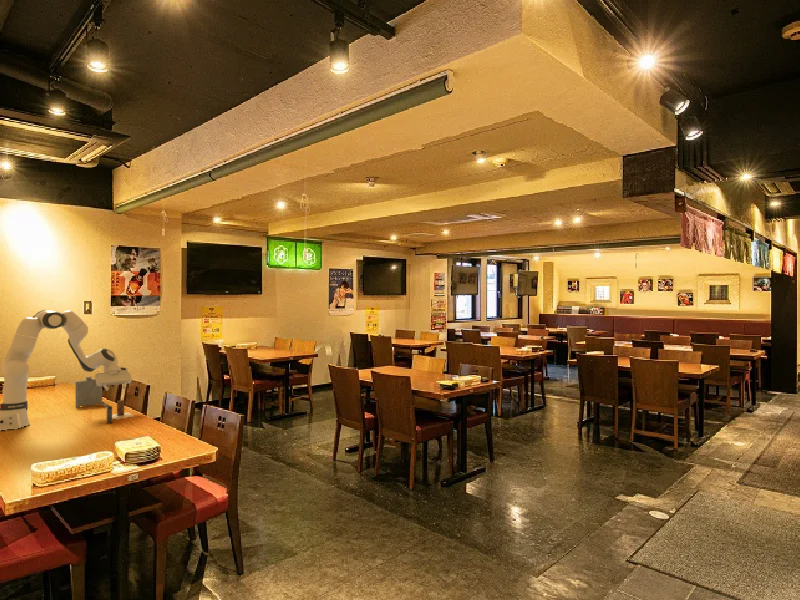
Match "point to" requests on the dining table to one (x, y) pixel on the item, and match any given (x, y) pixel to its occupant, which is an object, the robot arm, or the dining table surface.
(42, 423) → the dining table surface
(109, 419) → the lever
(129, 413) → the plate
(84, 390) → the hip flask
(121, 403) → the walnut peg
